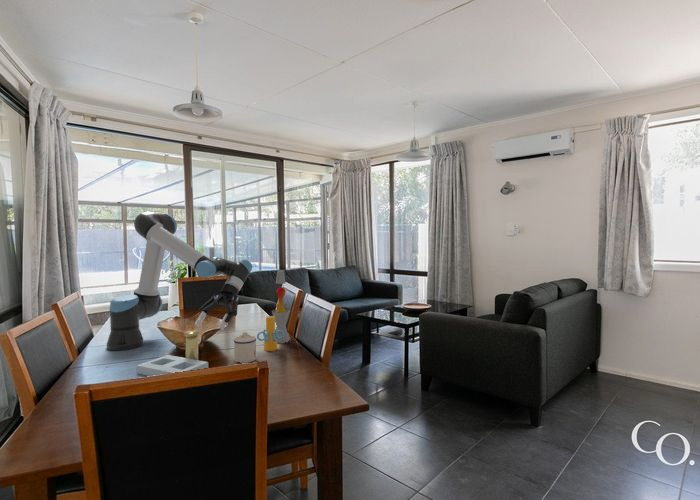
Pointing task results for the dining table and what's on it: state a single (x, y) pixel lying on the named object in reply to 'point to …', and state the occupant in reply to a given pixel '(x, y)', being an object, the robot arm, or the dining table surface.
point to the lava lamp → (281, 310)
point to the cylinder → (270, 334)
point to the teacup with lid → (245, 348)
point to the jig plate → (170, 365)
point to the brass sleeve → (191, 344)
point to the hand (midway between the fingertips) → (208, 326)
